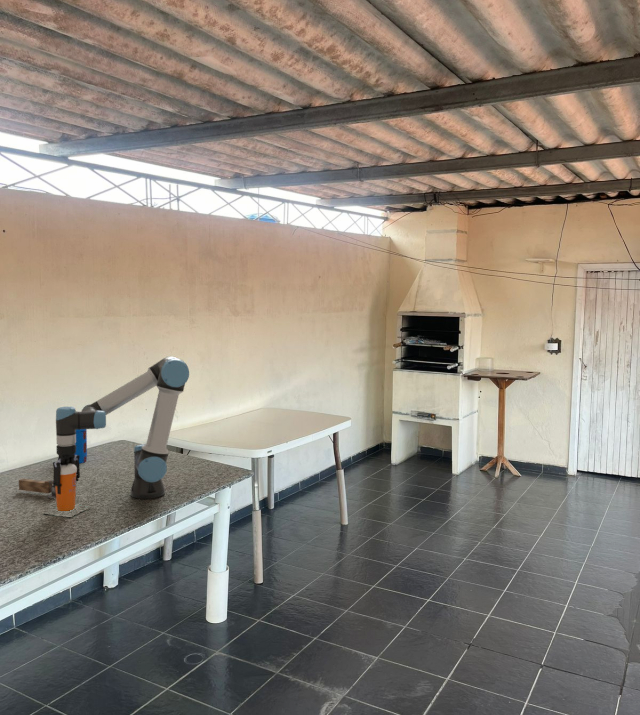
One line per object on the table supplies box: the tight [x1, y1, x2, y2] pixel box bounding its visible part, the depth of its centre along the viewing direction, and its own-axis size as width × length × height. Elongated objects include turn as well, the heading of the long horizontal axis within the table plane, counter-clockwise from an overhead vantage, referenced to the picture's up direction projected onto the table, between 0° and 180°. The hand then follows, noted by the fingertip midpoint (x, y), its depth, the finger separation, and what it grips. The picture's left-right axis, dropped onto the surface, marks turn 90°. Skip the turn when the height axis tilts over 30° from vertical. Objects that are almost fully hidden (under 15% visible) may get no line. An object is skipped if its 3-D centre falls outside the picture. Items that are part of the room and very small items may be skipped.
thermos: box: [74, 429, 88, 465], centre depth 343 cm, size 11×11×25 cm
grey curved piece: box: [47, 484, 56, 500], centre depth 284 cm, size 6×6×5 cm
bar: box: [18, 478, 53, 495], centre depth 286 cm, size 21×5×6 cm, turn 73°
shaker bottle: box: [55, 462, 77, 511], centre depth 264 cm, size 9×9×20 cm
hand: (67, 498), depth 265 cm, fingers open, 6 cm apart
